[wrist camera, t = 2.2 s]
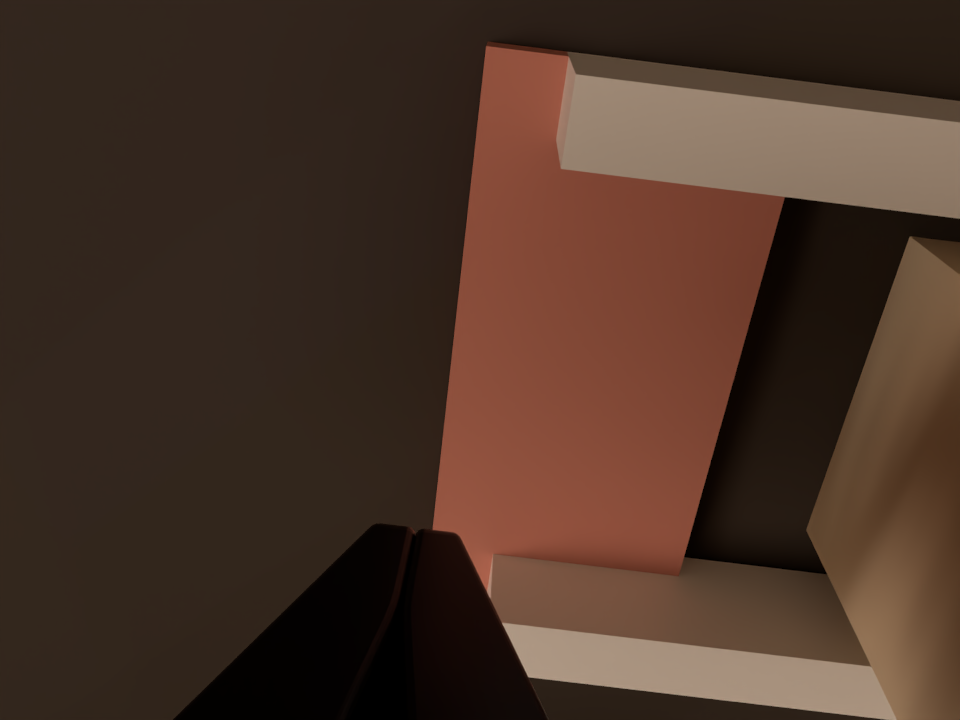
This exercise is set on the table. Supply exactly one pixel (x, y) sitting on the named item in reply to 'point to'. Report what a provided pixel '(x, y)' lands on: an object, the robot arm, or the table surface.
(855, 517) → the pine block
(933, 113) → the channel
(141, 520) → the table surface
